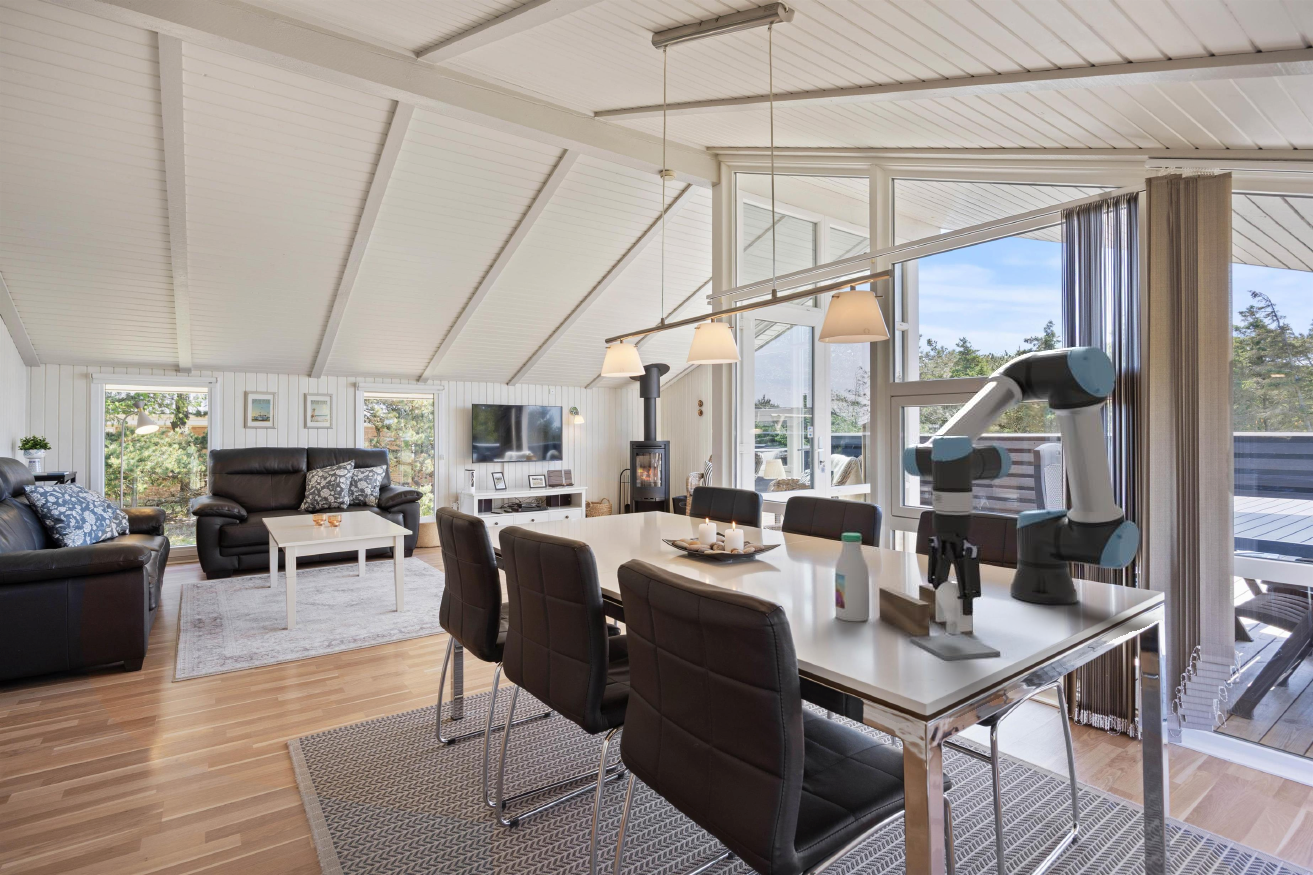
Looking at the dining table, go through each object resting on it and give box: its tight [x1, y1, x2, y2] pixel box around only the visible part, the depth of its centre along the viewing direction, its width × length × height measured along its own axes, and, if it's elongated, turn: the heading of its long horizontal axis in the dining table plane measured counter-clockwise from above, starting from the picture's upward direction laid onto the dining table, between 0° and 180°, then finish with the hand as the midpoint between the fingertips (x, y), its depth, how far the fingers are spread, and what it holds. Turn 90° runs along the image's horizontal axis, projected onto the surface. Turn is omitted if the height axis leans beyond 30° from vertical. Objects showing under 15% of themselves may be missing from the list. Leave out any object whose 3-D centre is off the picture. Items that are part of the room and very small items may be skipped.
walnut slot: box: [878, 584, 974, 637], centre depth 151 cm, size 13×16×7 cm
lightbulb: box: [936, 580, 966, 636], centre depth 134 cm, size 6×6×11 cm
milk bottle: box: [834, 532, 870, 622], centre depth 157 cm, size 8×8×20 cm
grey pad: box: [909, 633, 1001, 661], centre depth 134 cm, size 12×12×1 cm
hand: (953, 625), depth 134 cm, fingers closed on lightbulb, 6 cm apart
